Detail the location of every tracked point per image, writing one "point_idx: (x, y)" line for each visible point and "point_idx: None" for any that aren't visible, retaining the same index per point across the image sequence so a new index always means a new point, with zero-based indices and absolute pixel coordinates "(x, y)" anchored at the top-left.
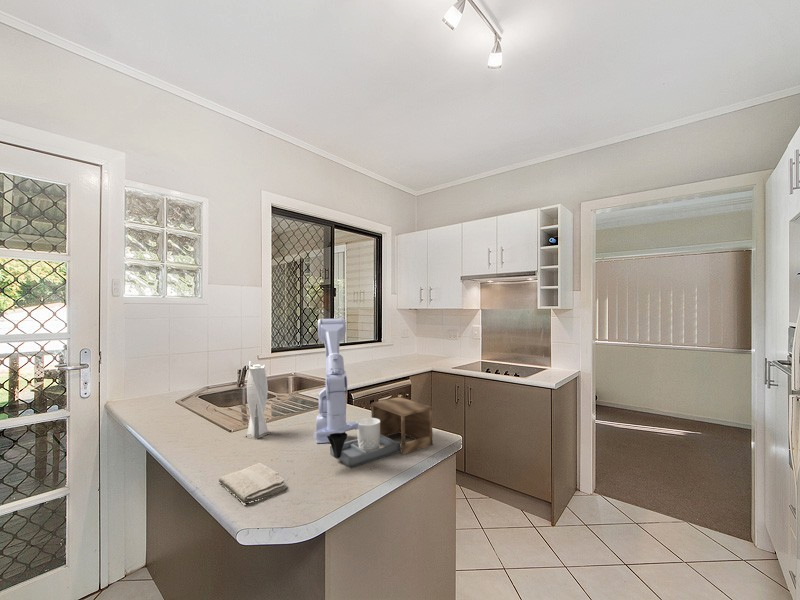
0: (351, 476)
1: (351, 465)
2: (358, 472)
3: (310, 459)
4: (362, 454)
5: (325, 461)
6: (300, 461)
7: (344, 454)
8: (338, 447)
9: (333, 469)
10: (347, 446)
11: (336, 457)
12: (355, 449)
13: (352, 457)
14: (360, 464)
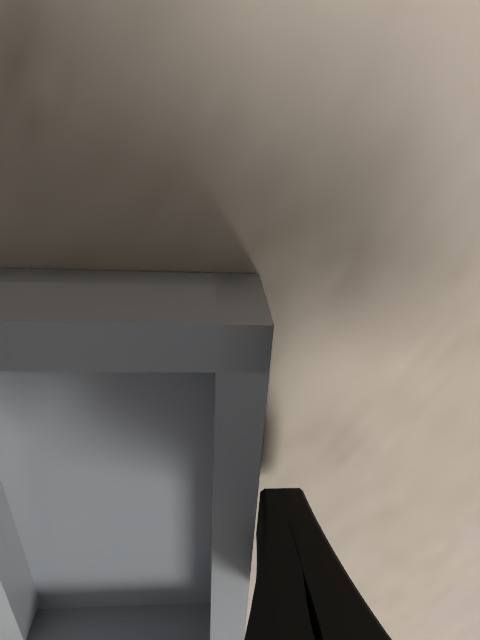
0: (401, 26)
1: (241, 281)
2: (247, 72)
3: (399, 593)
4: (2, 350)
5: (344, 522)
6: (467, 599)
7: (240, 489)
8: (337, 623)
9: (407, 360)
10: (63, 627)
11: (304, 502)
12: (12, 554)
13: (205, 354)
14: (101, 270)
